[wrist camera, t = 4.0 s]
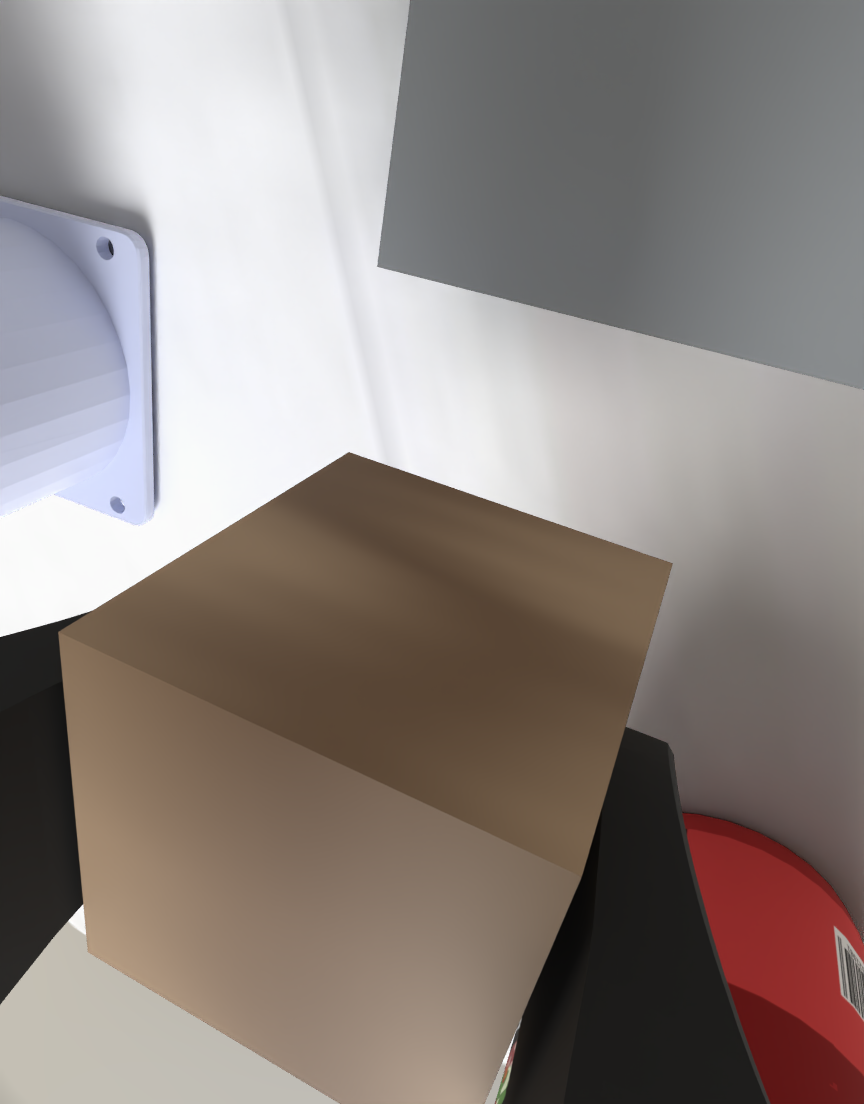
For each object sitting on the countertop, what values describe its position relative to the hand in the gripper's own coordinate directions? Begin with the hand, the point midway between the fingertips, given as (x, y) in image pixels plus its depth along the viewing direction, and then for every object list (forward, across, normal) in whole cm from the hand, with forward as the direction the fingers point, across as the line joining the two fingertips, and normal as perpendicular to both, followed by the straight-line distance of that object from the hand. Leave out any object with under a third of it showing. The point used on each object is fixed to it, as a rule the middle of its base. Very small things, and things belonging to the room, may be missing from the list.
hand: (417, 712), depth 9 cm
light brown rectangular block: (+2, 0, 0) cm, 2 cm away
